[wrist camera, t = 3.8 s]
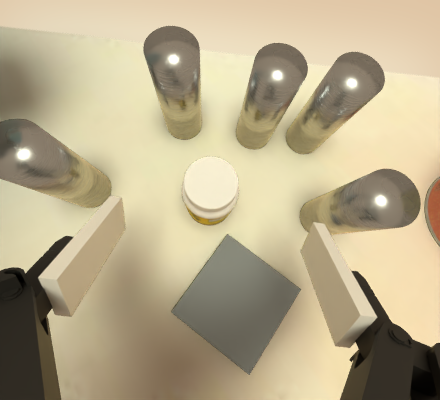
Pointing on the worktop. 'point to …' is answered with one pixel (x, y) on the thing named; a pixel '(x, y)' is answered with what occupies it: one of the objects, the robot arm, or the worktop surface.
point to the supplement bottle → (210, 190)
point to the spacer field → (246, 131)
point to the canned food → (433, 210)
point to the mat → (237, 303)
